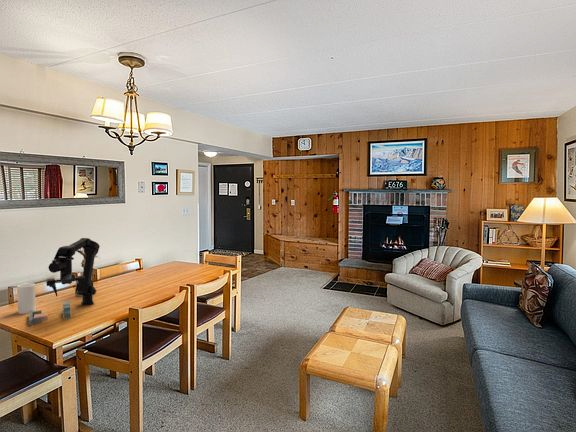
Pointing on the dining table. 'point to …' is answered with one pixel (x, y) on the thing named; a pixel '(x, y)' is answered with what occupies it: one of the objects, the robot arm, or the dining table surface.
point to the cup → (26, 298)
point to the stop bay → (34, 320)
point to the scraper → (66, 310)
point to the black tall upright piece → (83, 263)
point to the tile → (43, 316)
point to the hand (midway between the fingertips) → (66, 295)
